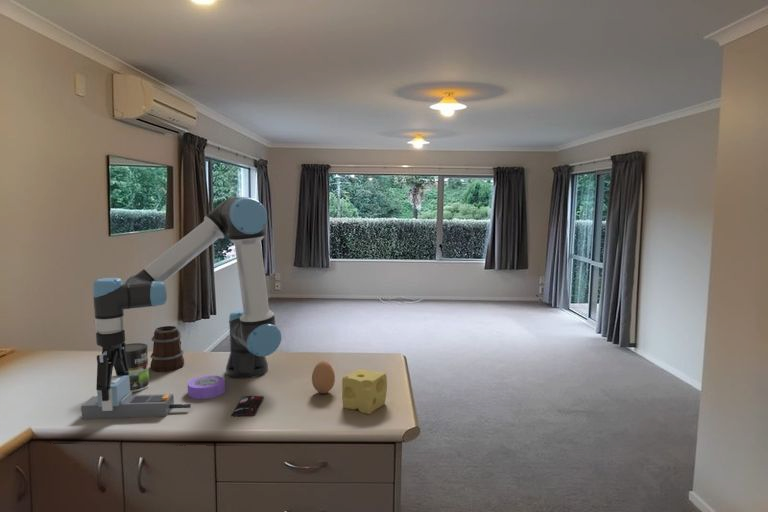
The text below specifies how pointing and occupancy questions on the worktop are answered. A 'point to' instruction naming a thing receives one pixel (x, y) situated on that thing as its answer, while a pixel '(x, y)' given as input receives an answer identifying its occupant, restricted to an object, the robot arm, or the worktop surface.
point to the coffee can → (137, 366)
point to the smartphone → (248, 406)
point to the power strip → (133, 407)
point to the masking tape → (206, 387)
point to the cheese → (364, 390)
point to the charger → (117, 389)
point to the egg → (323, 377)
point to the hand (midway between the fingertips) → (115, 403)
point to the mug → (166, 349)
